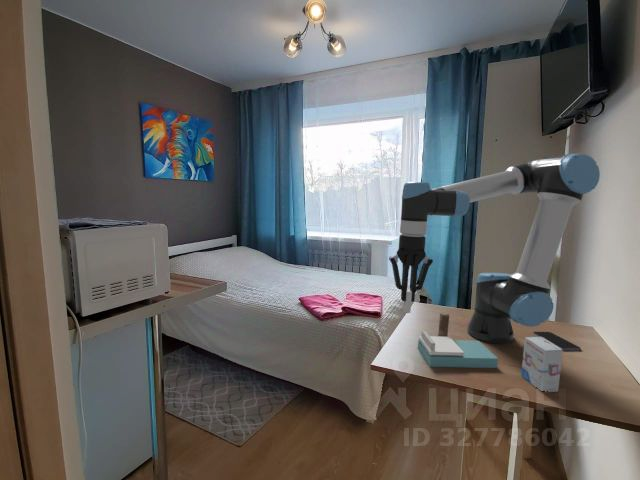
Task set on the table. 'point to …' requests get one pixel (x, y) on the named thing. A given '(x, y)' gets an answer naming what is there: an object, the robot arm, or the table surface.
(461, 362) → the board
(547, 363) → the ink box
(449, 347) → the cover
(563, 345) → the smartphone
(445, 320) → the peg
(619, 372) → the table surface
